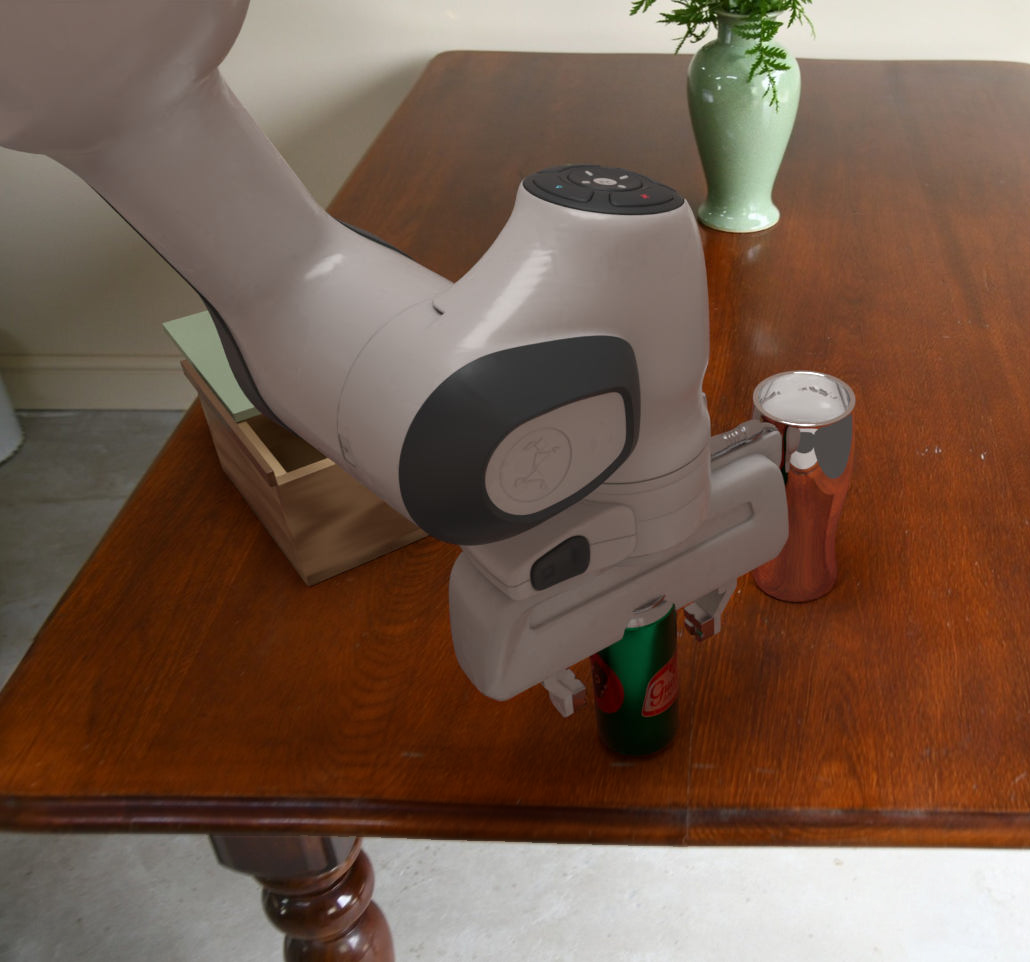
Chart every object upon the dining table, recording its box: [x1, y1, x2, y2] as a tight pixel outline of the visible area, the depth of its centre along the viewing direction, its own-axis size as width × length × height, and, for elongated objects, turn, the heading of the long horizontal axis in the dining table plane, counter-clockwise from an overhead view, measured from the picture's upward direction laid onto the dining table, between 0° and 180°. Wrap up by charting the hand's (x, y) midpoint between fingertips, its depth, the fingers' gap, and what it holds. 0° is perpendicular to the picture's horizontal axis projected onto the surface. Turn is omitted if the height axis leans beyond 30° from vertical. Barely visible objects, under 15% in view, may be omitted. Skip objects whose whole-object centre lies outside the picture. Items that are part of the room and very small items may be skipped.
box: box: [179, 358, 430, 588], centre depth 86 cm, size 17×18×10 cm
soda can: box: [589, 594, 681, 757], centre depth 66 cm, size 5×5×12 cm
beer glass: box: [750, 370, 857, 603], centre depth 76 cm, size 7×7×15 cm
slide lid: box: [161, 310, 262, 422], centre depth 88 cm, size 15×17×4 cm
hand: (638, 667), depth 66 cm, fingers open, 8 cm apart
